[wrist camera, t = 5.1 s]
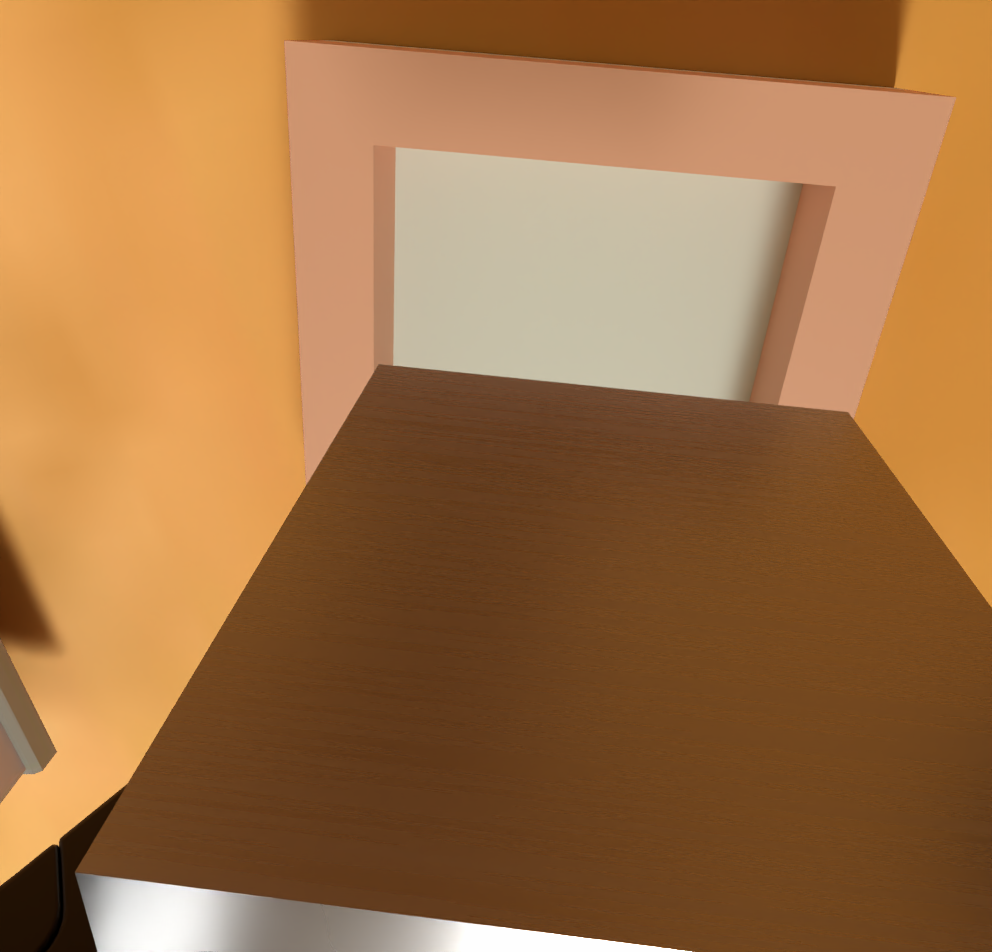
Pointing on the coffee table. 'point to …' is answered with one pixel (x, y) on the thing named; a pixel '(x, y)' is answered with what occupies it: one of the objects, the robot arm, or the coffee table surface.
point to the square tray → (594, 224)
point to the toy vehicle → (19, 730)
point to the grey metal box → (574, 697)
